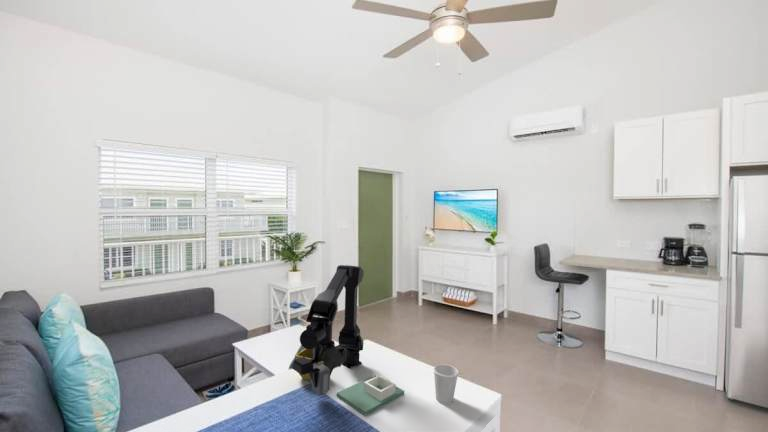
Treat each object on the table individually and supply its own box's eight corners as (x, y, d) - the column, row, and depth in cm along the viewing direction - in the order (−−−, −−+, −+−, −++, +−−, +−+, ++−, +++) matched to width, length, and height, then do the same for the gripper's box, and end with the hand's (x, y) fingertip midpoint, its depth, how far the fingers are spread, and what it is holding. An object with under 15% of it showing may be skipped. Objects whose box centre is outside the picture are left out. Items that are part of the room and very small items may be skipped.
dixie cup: (429, 402, 113) (430, 372, 113) (434, 390, 121) (436, 362, 121) (454, 409, 110) (456, 378, 110) (458, 396, 118) (460, 367, 117)
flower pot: (293, 379, 123) (294, 354, 123) (307, 369, 131) (309, 346, 131) (314, 385, 120) (315, 360, 120) (327, 374, 128) (328, 350, 128)
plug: (311, 389, 111) (312, 367, 111) (322, 385, 114) (322, 364, 114) (320, 395, 108) (321, 373, 108) (330, 390, 111) (331, 369, 111)
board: (336, 396, 114) (336, 383, 114) (375, 378, 127) (375, 367, 127) (365, 415, 104) (366, 402, 104) (403, 394, 117) (404, 382, 117)
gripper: (313, 353, 99) (310, 407, 99) (361, 337, 112) (359, 384, 113) (292, 341, 106) (290, 391, 107) (339, 328, 120) (337, 372, 120)
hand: (320, 384), depth 111 cm, fingers closed on plug, 4 cm apart
